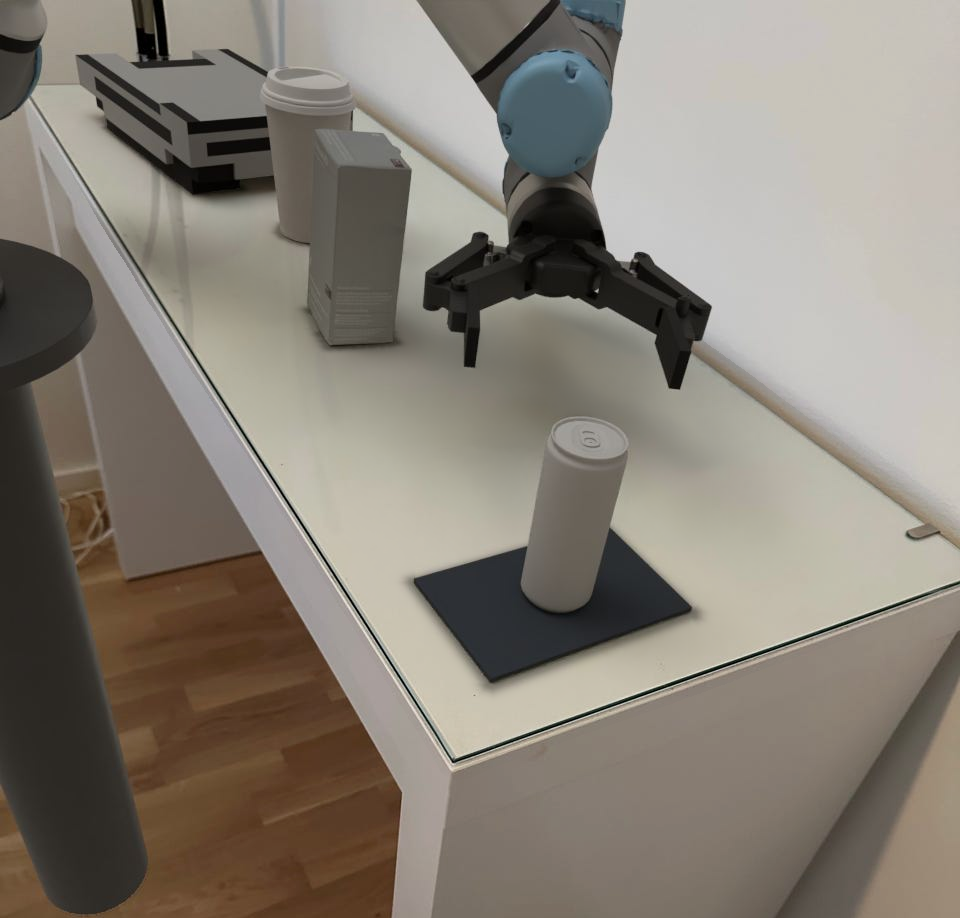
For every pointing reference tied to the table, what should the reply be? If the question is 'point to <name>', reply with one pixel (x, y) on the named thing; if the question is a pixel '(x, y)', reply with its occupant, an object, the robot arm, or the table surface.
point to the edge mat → (536, 632)
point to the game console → (187, 114)
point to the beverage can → (573, 512)
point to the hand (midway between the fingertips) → (577, 359)
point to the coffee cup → (301, 135)
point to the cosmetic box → (356, 235)
